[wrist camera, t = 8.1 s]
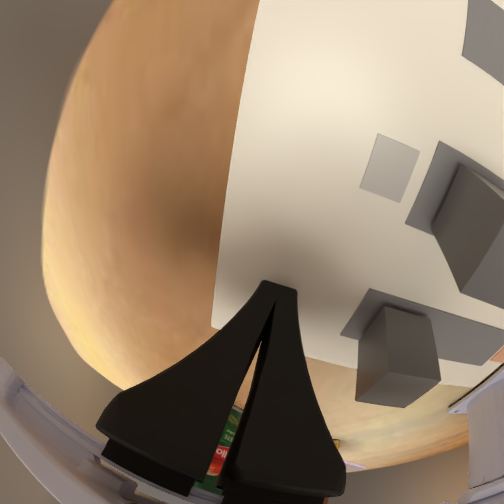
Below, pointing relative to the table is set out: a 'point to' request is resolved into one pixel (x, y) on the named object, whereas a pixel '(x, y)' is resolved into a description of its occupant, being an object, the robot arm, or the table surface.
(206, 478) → the canned tomato
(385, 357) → the gray short square block
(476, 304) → the switch panel
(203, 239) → the table surface
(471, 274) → the gray rectangular block
